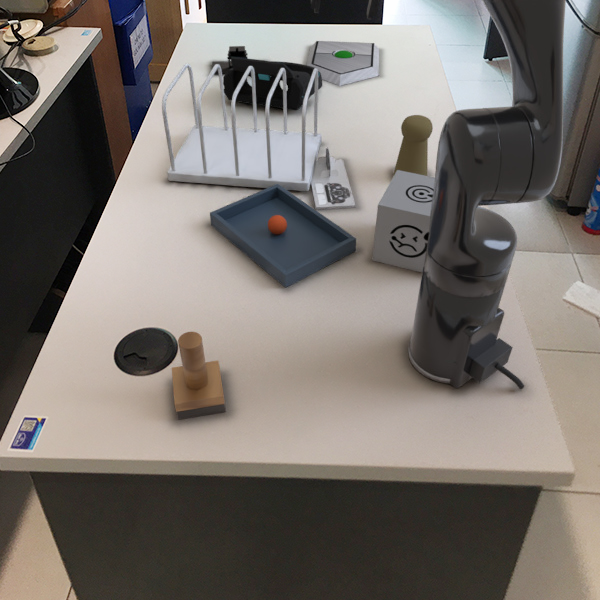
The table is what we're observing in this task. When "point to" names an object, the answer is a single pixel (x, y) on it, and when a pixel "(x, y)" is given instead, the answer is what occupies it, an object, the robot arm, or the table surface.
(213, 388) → the wooden stamp
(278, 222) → the crumb ball
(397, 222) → the icon cube
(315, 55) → the security device
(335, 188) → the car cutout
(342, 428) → the table surface
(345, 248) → the tray
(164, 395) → the table surface
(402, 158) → the olive game pawn
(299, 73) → the virtual reality headset
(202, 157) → the file sorter
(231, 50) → the black block
